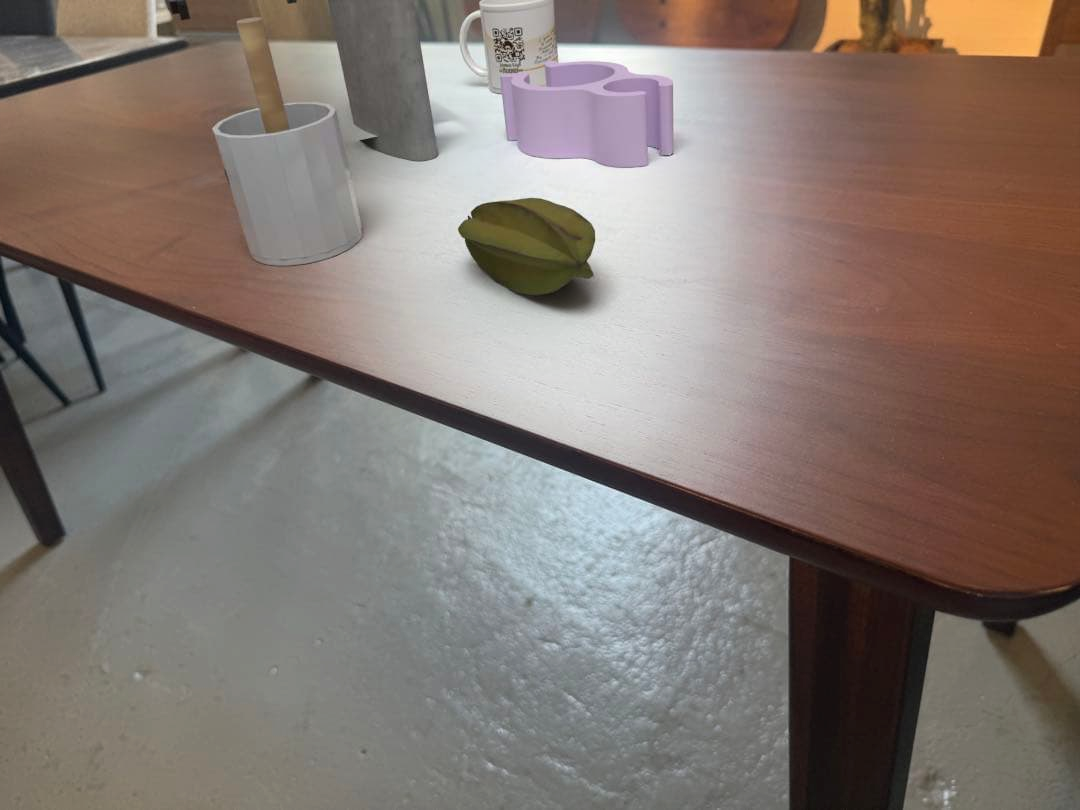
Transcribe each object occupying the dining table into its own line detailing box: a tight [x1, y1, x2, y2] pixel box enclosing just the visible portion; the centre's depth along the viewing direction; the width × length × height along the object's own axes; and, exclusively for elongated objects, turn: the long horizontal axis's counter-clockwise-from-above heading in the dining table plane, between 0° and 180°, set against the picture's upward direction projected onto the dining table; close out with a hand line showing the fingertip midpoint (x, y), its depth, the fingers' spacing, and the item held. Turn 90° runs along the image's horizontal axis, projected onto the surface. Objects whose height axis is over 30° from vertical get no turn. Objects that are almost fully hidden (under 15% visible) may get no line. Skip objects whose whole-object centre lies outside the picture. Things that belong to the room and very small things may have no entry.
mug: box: [458, 0, 559, 95], centre depth 116 cm, size 10×12×11 cm
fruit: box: [457, 197, 596, 296], centre depth 64 cm, size 11×12×7 cm
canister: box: [211, 101, 363, 267], centre depth 74 cm, size 10×10×11 cm
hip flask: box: [327, 0, 439, 162], centre depth 94 cm, size 16×4×20 cm, turn 38°
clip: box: [500, 60, 675, 168], centre depth 92 cm, size 20×12×7 cm, turn 41°
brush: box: [235, 16, 290, 134], centre depth 72 cm, size 4×4×18 cm
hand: (239, 4), depth 69 cm, fingers open, 8 cm apart
